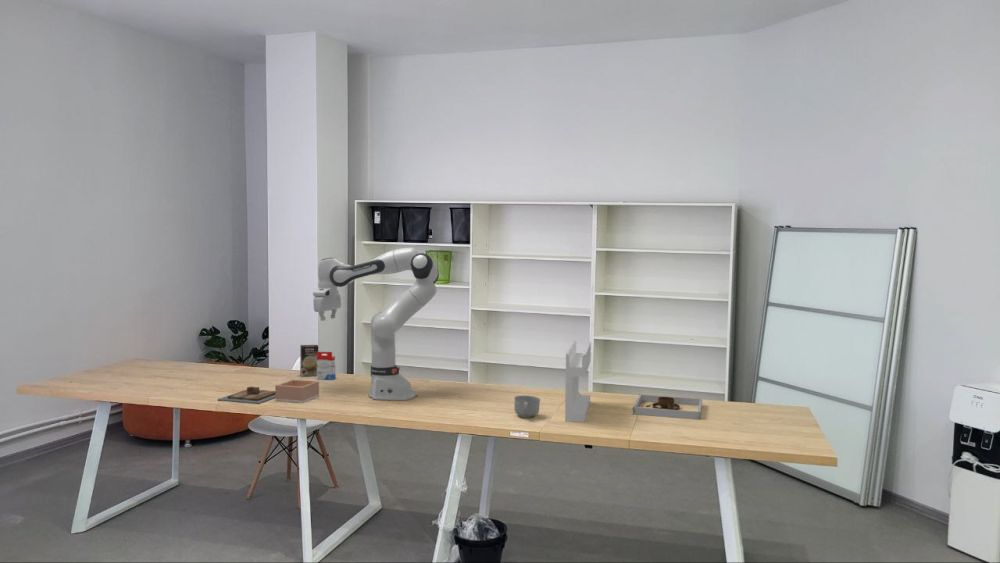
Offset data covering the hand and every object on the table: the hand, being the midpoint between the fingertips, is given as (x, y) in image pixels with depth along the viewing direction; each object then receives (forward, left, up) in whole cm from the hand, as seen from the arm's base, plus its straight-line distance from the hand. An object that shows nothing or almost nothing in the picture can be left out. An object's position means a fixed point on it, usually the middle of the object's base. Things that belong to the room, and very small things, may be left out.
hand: (328, 319), depth 362 cm
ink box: (+13, -20, -34) cm, 42 cm away
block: (-125, +6, -34) cm, 130 cm away
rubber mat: (+24, +27, -34) cm, 50 cm away
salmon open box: (+3, +23, -34) cm, 41 cm away
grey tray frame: (-162, -10, -34) cm, 166 cm away
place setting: (-160, -9, -35) cm, 164 cm away
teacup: (-106, +22, -34) cm, 114 cm away
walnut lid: (+24, +27, -34) cm, 49 cm away
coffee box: (+26, -25, -34) cm, 50 cm away
